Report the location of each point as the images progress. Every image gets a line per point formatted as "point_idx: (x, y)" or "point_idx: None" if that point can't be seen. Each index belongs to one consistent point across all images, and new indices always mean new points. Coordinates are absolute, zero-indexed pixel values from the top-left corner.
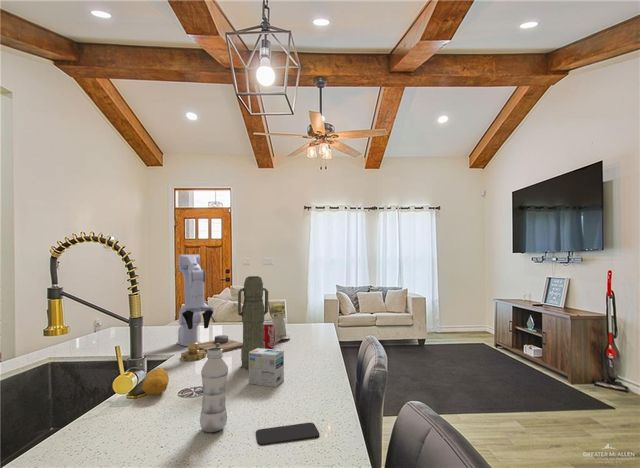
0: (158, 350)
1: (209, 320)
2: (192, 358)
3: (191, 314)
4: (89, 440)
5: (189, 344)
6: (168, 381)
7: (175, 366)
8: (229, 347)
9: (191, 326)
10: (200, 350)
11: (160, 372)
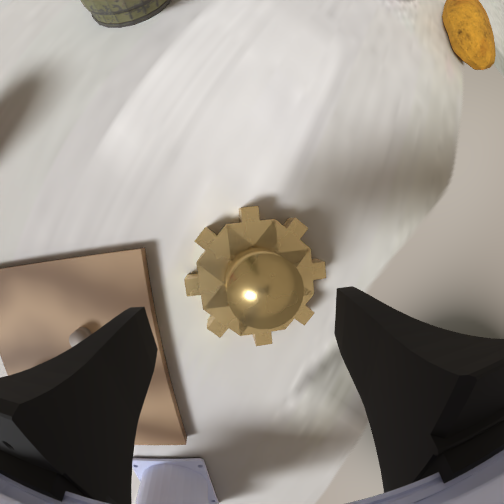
0: (314, 463)
1: (81, 344)
2: (284, 226)
3: (464, 354)
4: (500, 7)
5: (302, 281)
6: (447, 5)
7: (377, 190)
8: (46, 273)
9: (359, 293)
10: (204, 297)
11: (476, 5)
